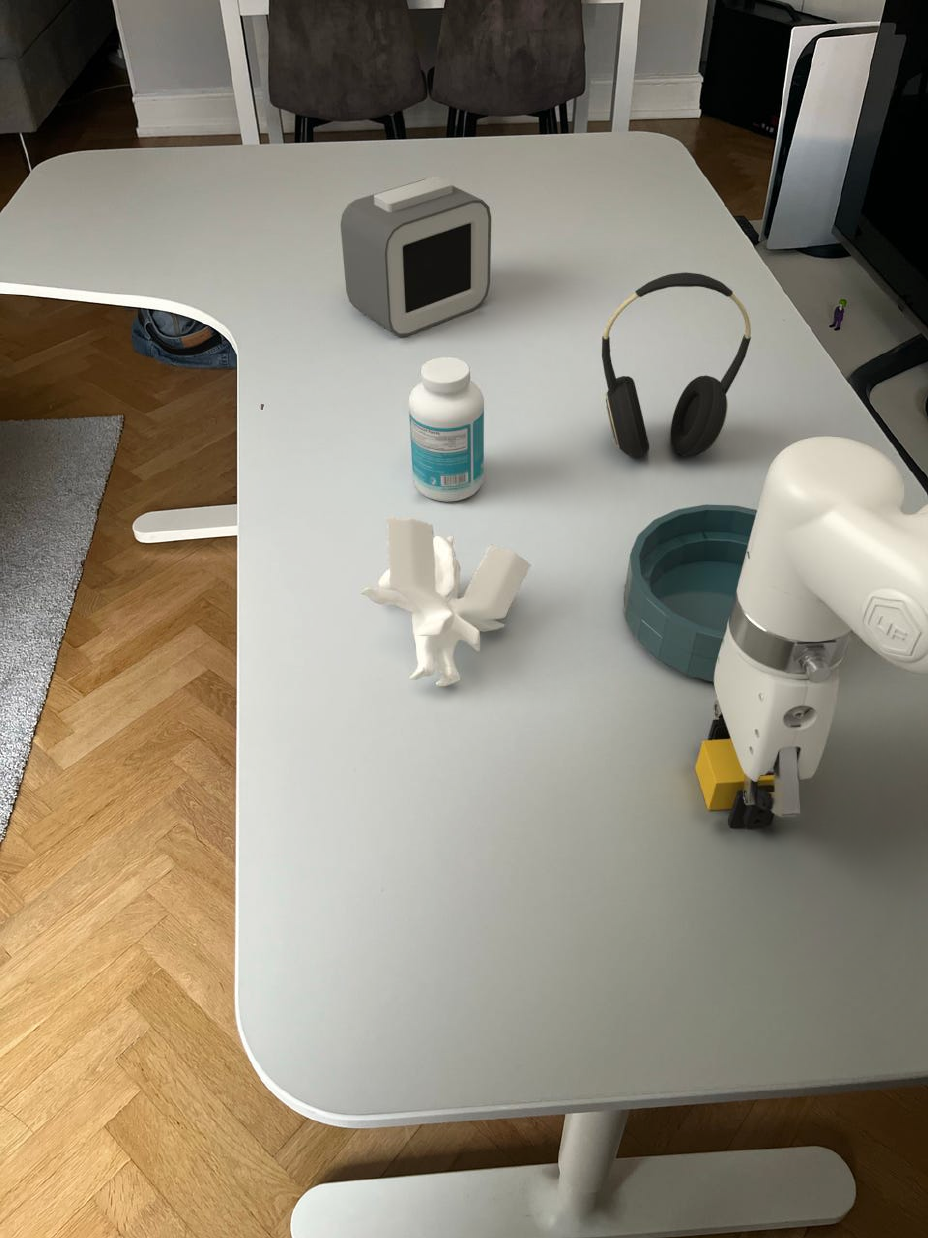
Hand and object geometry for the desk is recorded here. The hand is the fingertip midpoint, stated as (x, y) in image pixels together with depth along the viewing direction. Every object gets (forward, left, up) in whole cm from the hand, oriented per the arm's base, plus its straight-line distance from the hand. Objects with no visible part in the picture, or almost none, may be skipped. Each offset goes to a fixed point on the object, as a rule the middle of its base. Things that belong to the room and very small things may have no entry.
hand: (736, 786), depth 76 cm
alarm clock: (+70, -43, 0) cm, 82 cm away
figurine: (+29, +2, 0) cm, 29 cm away
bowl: (+10, -16, 0) cm, 19 cm away
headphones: (+28, -35, 0) cm, 45 cm away
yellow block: (0, 0, 0) cm, 0 cm away
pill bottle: (+42, -16, 0) cm, 45 cm away
